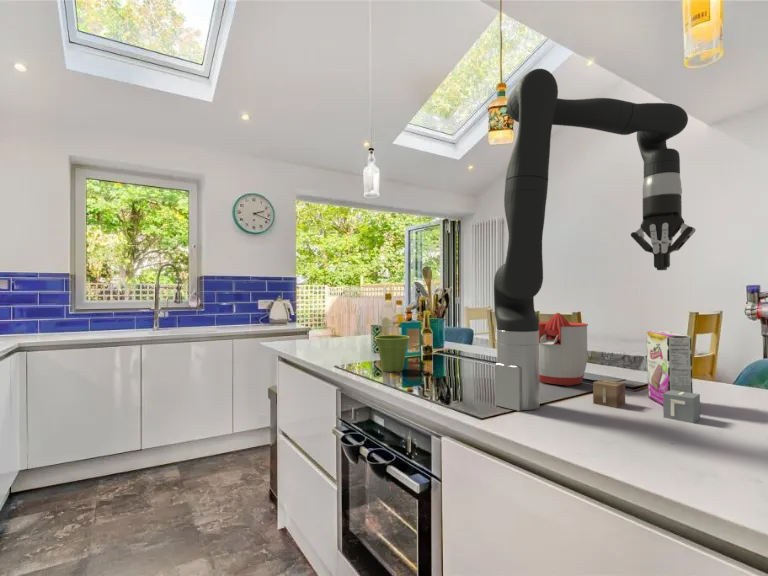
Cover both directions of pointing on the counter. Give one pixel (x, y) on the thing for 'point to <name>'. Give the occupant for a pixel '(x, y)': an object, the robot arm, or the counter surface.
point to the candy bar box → (668, 363)
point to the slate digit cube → (681, 406)
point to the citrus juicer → (562, 351)
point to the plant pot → (392, 351)
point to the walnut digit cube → (609, 393)
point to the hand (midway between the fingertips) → (662, 270)
